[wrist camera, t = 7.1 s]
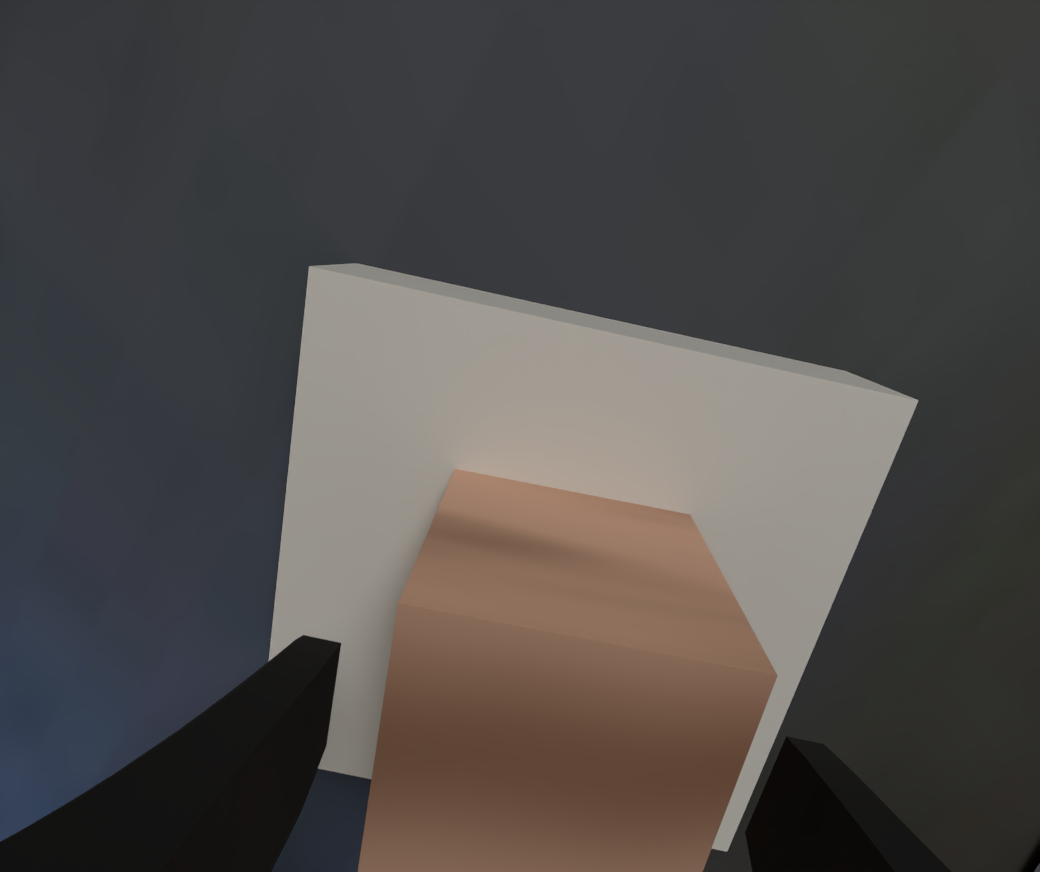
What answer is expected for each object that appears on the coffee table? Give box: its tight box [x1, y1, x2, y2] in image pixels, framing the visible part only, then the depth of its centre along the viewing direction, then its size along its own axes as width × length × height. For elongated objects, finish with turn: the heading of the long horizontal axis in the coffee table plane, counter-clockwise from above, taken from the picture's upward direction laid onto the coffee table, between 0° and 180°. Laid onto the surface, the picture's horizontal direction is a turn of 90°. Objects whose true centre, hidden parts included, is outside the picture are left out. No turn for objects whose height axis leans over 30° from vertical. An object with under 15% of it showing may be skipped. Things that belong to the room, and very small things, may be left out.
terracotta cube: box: [358, 469, 778, 872], centre depth 11 cm, size 5×5×5 cm
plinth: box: [269, 263, 919, 851], centre depth 15 cm, size 12×12×3 cm
